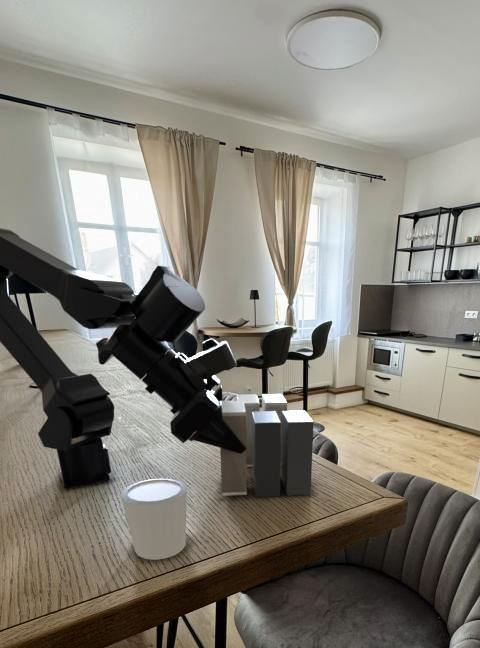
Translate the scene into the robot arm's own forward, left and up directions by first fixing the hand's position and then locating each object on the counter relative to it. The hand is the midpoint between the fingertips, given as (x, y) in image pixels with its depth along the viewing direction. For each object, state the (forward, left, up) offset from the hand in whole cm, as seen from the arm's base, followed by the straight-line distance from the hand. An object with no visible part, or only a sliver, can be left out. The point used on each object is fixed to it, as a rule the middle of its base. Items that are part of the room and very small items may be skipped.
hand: (242, 442), depth 59 cm
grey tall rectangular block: (+6, +11, -7) cm, 14 cm away
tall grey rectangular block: (+3, -1, -7) cm, 8 cm away
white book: (+10, +9, -7) cm, 15 cm away
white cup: (-15, -10, -7) cm, 19 cm away
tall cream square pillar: (-1, +1, -7) cm, 7 cm away
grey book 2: (+7, -3, -7) cm, 11 cm away
